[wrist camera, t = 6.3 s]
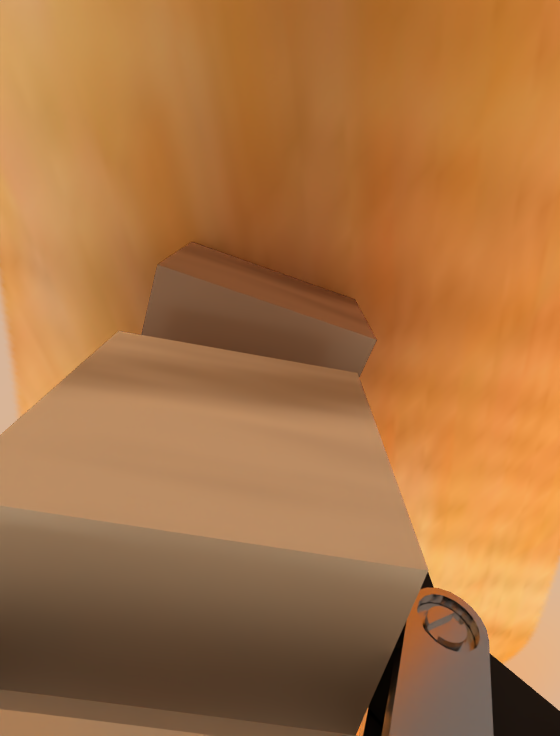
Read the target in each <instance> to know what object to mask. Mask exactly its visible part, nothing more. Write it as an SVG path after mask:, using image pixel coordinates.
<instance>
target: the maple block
mask: <svg viewBox="0 0 560 736" xmlns="http://www.w3.org/2000/svg"><path fill="white" fill-rule="evenodd" d="M427 573H428V568H427V565H426V562H425V560H424V557H423V554H422V551H421V548H420V546H419V543H418V540H417V537H416V535H415V532H414V529H413V526H412V523H411V521H410V518H409V515H408V512H407V509H406V507H405V504H404V501H403V498H402V496H401V493H400V490H399V487H398V484H397V482H396V479H395V476H394V473H393V470H392V468H391V465H390V462H389V459H388V457H387V454H386V451H385V448H384V445H383V443H382V440H381V437H380V434H379V431H378V429H377V426H376V423H375V420H374V418H373V415H372V412H371V409H370V406H369V404H368V401H367V398H366V395H365V392H364V390H363V387H362V384H361V381H360V379H359V376H358V373H355V372H349V371H343V370H338V369H332V368H326V367H321V366H315V365H309V364H304V363H298V362H292V361H287V360H281V359H275V358H270V357H264V356H258V355H253V354H247V353H241V352H236V351H230V350H224V349H219V348H213V347H207V346H202V345H196V344H190V343H185V342H179V341H173V340H168V339H162V338H156V337H151V336H145V335H139V334H134V333H128V332H122V331H118V332H117V333H115V334H114V335H113V336H112V337H111V338H110V339H109V340H108V341H106V342H105V343H104V344H103V345H102V346H101V347H100V348H98V349H97V350H96V351H95V352H94V353H93V354H92V355H91V356H89V357H88V358H87V359H86V360H85V361H84V362H83V363H81V364H80V365H79V366H78V367H77V368H76V369H75V370H73V371H72V372H71V373H70V374H69V375H68V376H67V377H66V378H64V379H63V380H62V381H61V382H60V383H59V384H58V385H56V386H55V387H54V388H53V389H52V390H51V391H50V392H49V393H47V394H46V395H45V396H44V397H43V398H42V399H41V400H39V401H38V402H37V403H36V404H35V405H34V406H33V407H31V408H30V409H29V410H28V411H27V412H26V413H25V414H24V415H22V416H21V417H20V418H19V419H18V420H17V421H16V422H14V423H13V424H12V425H11V426H10V427H9V428H8V429H7V430H5V431H4V432H3V433H2V434H1V435H0V690H8V691H16V692H25V693H33V694H41V695H49V696H57V697H65V698H73V699H81V700H89V701H97V702H105V703H112V704H120V705H128V706H136V707H144V708H152V709H159V710H167V711H175V712H183V713H190V714H198V715H206V716H214V717H222V718H229V719H237V720H244V721H252V722H259V723H267V724H274V725H282V726H289V727H296V728H304V729H311V730H319V731H326V732H334V733H341V734H349V735H356V733H357V731H358V729H359V726H360V724H361V722H362V720H363V717H364V715H365V713H366V711H367V708H368V706H369V704H370V702H371V699H372V697H373V695H374V692H375V690H376V688H377V686H378V683H379V681H380V679H381V677H382V674H383V672H384V670H385V668H386V665H387V663H388V661H389V659H390V656H391V654H392V652H393V650H394V647H395V645H396V643H397V641H398V638H399V636H400V634H401V631H402V629H403V627H404V625H405V622H406V620H407V618H408V616H409V613H410V611H411V609H412V607H413V604H414V602H415V600H416V598H417V595H418V593H419V591H420V589H421V586H422V584H423V582H424V580H425V577H426V575H427Z"/></svg>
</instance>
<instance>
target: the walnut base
mask: <svg viewBox="0 0 560 736" xmlns="http://www.w3.org/2000/svg"><path fill="white" fill-rule="evenodd" d="M141 335H145V336H151V337H156V338H162V339H168V340H173V341H179V342H185V343H190V344H196V345H202V346H207V347H213V348H219V349H224V350H230V351H236V352H241V353H247V354H253V355H258V356H264V357H270V358H275V359H281V360H287V361H292V362H298V363H304V364H309V365H315V366H321V367H326V368H332V369H338V370H343V371H349V372H355V373H358V376H359V377H360V375H361V373H362V370H363V368H364V366H365V364H366V362H367V360H368V358H369V356H370V353H371V351H372V349H373V347H374V345H375V343H376V341H377V339H376V337H375V335H374V334H373V332H372V330H371V328H370V326H369V324H368V322H367V321H366V319H365V317H364V315H363V313H362V311H361V310H360V308H359V306H358V304H357V302H356V300H355V299H352V298H349V297H346V296H344V295H341V294H338V293H335V292H332V291H329V290H327V289H324V288H321V287H318V286H315V285H313V284H310V283H307V282H304V281H301V280H298V279H296V278H293V277H290V276H287V275H284V274H281V273H279V272H276V271H273V270H270V269H267V268H264V267H262V266H259V265H256V264H253V263H250V262H247V261H245V260H242V259H239V258H236V257H233V256H230V255H228V254H225V253H222V252H219V251H216V250H213V249H211V248H208V247H205V246H202V245H199V244H196V243H194V242H191V243H189V244H187V245H186V246H184V247H183V248H181V249H180V250H178V251H177V252H175V253H174V254H172V255H171V256H169V257H168V258H166V259H165V260H163V261H162V262H160V263H159V264H157V269H156V273H155V278H154V282H153V286H152V291H151V295H150V299H149V304H148V308H147V313H146V317H145V321H144V326H143V330H142V334H141Z"/></svg>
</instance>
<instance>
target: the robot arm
mask: <svg viewBox="0 0 560 736" xmlns="http://www.w3.org/2000/svg"><path fill="white" fill-rule="evenodd" d="M0 736H356V735H349V734H341V733H334V732H326V731H319V730H311V729H304V728H296V727H289V726H282V725H274V724H267V723H259V722H252V721H244V720H237V719H229V718H222V717H214V716H206V715H198V714H190V713H183V712H175V711H167V710H159V709H152V708H144V707H136V706H128V705H120V704H112V703H105V702H97V701H89V700H81V699H73V698H65V697H57V696H49V695H41V694H33V693H25V692H16V691H8V690H0ZM359 736H560V711H559V710H558V709H556V708H555V707H554V706H553V705H552V704H550V703H549V702H548V701H547V700H546V699H544V698H543V697H542V696H541V695H539V694H538V693H537V692H536V691H535V690H533V689H532V688H531V687H530V686H529V685H527V684H526V683H525V682H524V681H522V680H521V679H520V678H519V677H518V676H516V675H515V674H514V673H513V672H512V671H510V670H509V669H508V668H507V667H506V666H504V665H503V664H502V663H501V662H499V661H498V660H497V659H496V658H495V657H493V656H492V655H491V654H490V653H489V639H488V634H487V630H486V628H485V626H484V624H483V622H482V620H481V618H480V617H479V616H478V614H477V613H476V612H475V611H474V610H473V608H472V607H471V606H469V605H468V604H467V603H466V602H465V601H463V600H462V599H461V598H459V597H458V596H456V595H454V594H452V593H451V592H448V591H445V590H442V589H439V588H434V587H433V584H432V582H431V579H430V576H429V573H427V575H426V577H425V580H424V582H423V584H422V586H421V589H420V591H419V593H418V595H417V598H416V600H415V602H414V604H413V607H412V609H411V611H410V613H409V616H408V618H407V620H406V622H405V625H404V627H403V629H402V631H401V634H400V636H399V638H398V641H397V643H396V645H395V647H394V650H393V652H392V654H391V656H390V659H389V661H388V663H387V665H386V668H385V670H384V672H383V674H382V677H381V679H380V681H379V683H378V686H377V688H376V690H375V692H374V695H373V697H372V699H371V702H370V704H369V706H368V708H367V711H366V713H365V715H364V717H363V720H362V723H361V728H360V732H359Z"/></svg>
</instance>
